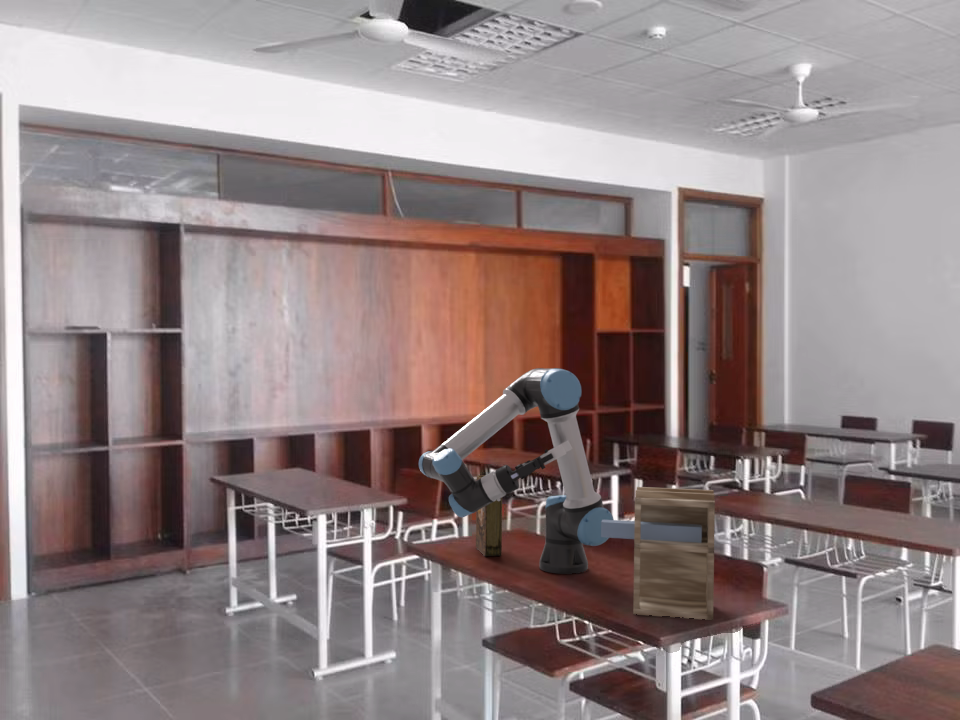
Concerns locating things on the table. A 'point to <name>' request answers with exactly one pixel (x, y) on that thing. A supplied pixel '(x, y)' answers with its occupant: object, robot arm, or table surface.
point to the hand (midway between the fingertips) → (567, 446)
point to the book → (489, 528)
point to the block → (652, 531)
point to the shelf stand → (674, 555)
